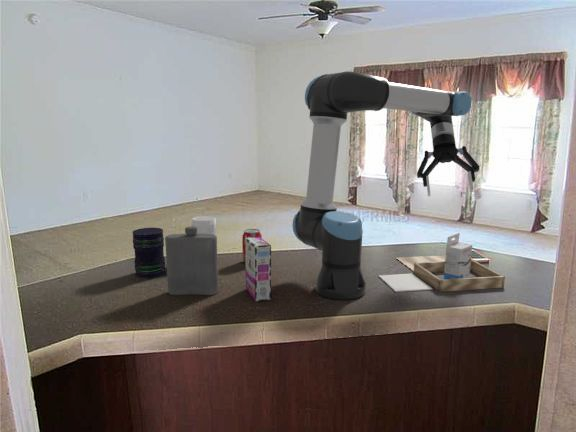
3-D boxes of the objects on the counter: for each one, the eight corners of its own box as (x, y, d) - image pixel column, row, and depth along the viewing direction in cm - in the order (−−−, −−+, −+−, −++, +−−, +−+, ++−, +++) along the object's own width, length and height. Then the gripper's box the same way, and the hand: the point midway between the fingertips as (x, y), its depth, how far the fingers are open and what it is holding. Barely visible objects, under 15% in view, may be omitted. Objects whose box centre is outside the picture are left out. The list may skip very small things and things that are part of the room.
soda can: (239, 264, 159) (239, 232, 156) (247, 258, 165) (246, 227, 163) (258, 266, 157) (257, 233, 154) (264, 260, 163) (264, 229, 161)
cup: (191, 258, 166) (189, 216, 163) (215, 256, 169) (214, 215, 165) (194, 265, 158) (192, 221, 154) (219, 263, 160) (218, 220, 157)
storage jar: (146, 281, 142) (143, 236, 139) (129, 274, 148) (125, 231, 145) (171, 273, 150) (169, 230, 147) (154, 267, 155) (151, 226, 152)
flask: (220, 288, 136) (218, 225, 132) (217, 295, 130) (215, 229, 126) (171, 288, 136) (167, 225, 131) (166, 295, 130) (162, 229, 126)
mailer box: (439, 291, 133) (439, 280, 133) (394, 258, 166) (395, 249, 165) (503, 287, 137) (504, 276, 136) (447, 256, 169) (448, 247, 169)
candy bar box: (272, 300, 127) (271, 245, 123) (255, 302, 125) (254, 246, 122) (260, 286, 137) (260, 235, 134) (245, 289, 135) (244, 237, 132)
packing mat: (395, 292, 133) (395, 290, 133) (378, 276, 146) (378, 275, 146) (432, 289, 135) (432, 288, 135) (412, 274, 148) (412, 273, 148)
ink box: (457, 285, 139) (461, 239, 136) (443, 281, 142) (446, 237, 139) (469, 278, 145) (473, 235, 142) (455, 274, 148) (458, 232, 145)
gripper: (480, 139, 157) (488, 193, 149) (407, 148, 163) (412, 200, 155) (482, 127, 150) (491, 183, 142) (406, 137, 157) (411, 191, 149)
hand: (450, 192), depth 149 cm, fingers open, 13 cm apart
